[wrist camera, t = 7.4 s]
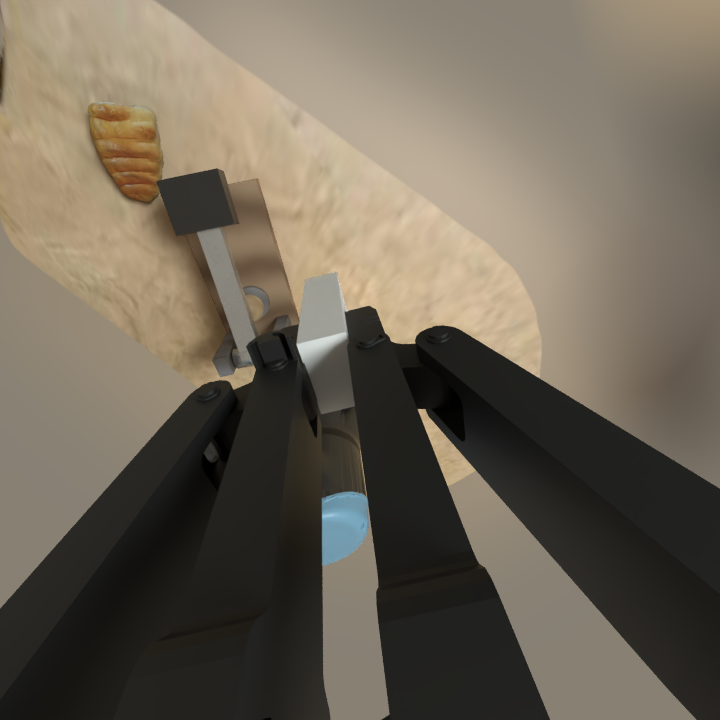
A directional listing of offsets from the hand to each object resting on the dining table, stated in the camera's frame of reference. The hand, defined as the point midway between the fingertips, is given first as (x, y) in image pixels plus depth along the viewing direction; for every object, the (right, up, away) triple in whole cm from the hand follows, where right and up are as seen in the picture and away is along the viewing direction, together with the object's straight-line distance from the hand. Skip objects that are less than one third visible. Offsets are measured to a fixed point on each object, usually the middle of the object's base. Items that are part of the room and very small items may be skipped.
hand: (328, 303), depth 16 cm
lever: (-13, +7, +23) cm, 27 cm away
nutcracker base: (-14, +10, +30) cm, 34 cm away
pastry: (-24, +21, +22) cm, 39 cm away
